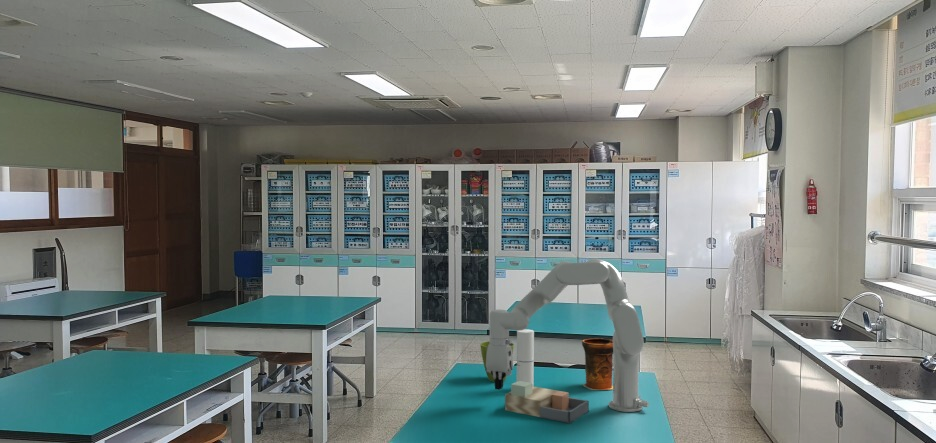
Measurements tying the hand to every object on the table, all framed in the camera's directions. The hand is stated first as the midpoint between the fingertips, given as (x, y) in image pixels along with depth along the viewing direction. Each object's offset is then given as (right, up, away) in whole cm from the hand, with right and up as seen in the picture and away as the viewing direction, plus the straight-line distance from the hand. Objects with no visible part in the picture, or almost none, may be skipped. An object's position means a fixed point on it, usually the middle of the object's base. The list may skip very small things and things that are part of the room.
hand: (498, 388), depth 260 cm
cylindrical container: (+12, -6, +22) cm, 26 cm away
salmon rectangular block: (+22, -3, -5) cm, 22 cm away
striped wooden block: (+13, -7, -3) cm, 15 cm away
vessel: (+44, -6, +27) cm, 52 cm away
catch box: (+24, -7, -11) cm, 27 cm away
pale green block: (+9, -1, -6) cm, 10 cm away
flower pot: (+1, -6, +38) cm, 38 cm away
